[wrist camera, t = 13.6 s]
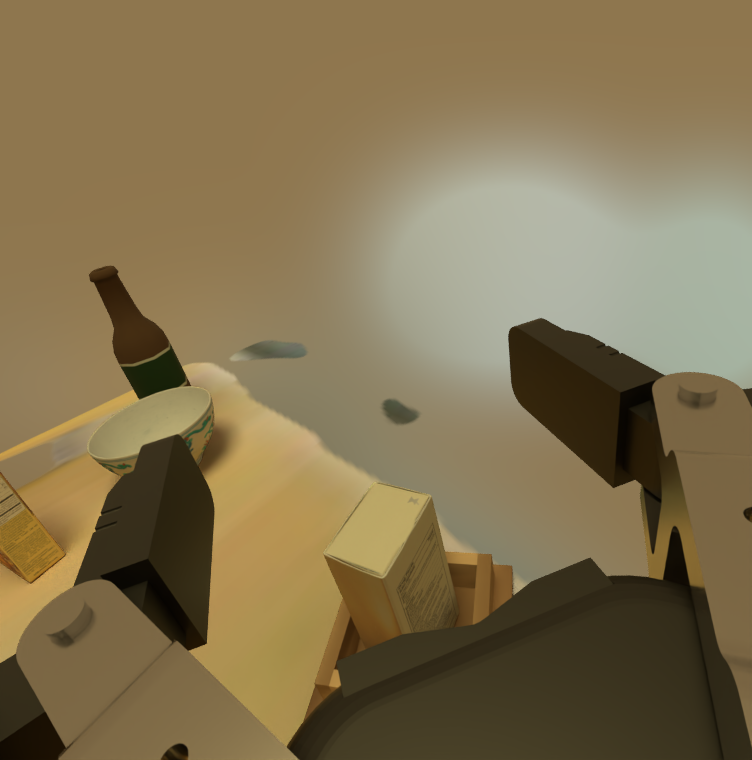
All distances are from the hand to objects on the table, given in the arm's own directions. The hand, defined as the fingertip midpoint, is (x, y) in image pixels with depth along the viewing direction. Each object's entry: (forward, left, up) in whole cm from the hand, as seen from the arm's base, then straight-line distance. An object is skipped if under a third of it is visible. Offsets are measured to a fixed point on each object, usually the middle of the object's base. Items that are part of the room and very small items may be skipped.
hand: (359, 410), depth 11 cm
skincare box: (-5, +9, -26) cm, 28 cm away
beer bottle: (-51, +41, -27) cm, 71 cm away
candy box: (-50, +13, -27) cm, 58 cm away
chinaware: (-41, +28, -27) cm, 57 cm away
